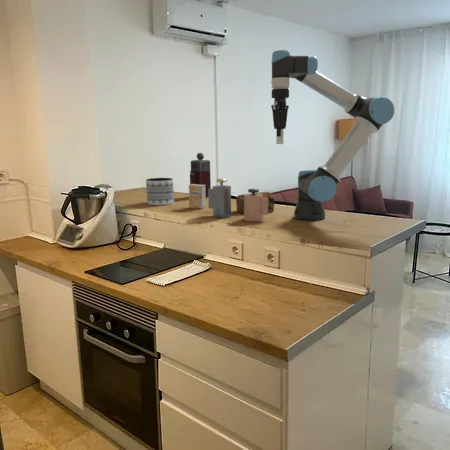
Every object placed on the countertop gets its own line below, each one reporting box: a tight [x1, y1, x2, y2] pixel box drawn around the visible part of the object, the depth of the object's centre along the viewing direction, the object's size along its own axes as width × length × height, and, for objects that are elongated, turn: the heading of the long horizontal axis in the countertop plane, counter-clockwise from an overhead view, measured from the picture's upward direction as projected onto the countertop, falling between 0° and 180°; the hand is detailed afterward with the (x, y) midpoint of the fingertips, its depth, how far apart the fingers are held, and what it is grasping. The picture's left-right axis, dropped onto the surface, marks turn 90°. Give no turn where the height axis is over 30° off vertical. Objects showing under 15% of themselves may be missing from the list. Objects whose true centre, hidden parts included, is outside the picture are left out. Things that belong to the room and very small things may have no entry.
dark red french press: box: [189, 152, 212, 198], centre depth 296 cm, size 9×11×28 cm
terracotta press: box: [243, 193, 269, 222], centre depth 224 cm, size 9×12×12 cm
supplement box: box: [188, 184, 207, 210], centre depth 258 cm, size 8×5×13 cm, turn 68°
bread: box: [235, 191, 275, 215], centre depth 246 cm, size 19×11×10 cm, turn 101°
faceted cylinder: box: [207, 184, 232, 219], centre depth 234 cm, size 9×12×15 cm
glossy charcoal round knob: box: [247, 188, 260, 196], centre depth 224 cm, size 5×5×12 cm
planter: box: [145, 177, 175, 206], centre depth 276 cm, size 16×16×14 cm
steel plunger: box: [216, 178, 228, 187], centre depth 233 cm, size 5×5×13 cm
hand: (279, 144), depth 206 cm, fingers closed
